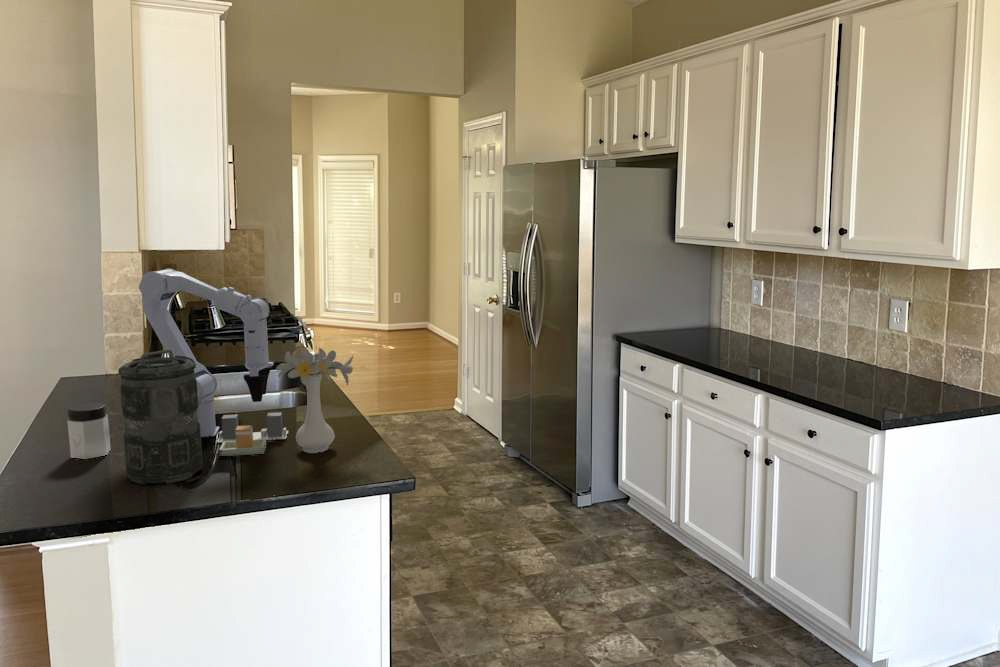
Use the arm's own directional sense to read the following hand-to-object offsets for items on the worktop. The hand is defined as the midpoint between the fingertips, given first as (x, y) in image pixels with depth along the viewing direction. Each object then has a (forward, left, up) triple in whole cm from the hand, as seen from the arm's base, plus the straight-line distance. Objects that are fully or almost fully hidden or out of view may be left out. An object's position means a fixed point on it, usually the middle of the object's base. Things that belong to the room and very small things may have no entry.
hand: (259, 397), depth 211 cm
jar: (-39, -10, -10) cm, 41 cm away
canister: (-18, -28, -10) cm, 35 cm away
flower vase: (+15, -15, -10) cm, 24 cm away
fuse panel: (-2, -3, -10) cm, 10 cm away
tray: (-3, -14, -10) cm, 17 cm away
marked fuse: (-2, -14, -9) cm, 17 cm away
